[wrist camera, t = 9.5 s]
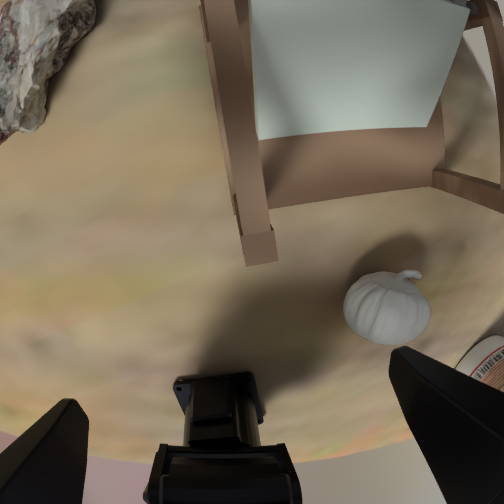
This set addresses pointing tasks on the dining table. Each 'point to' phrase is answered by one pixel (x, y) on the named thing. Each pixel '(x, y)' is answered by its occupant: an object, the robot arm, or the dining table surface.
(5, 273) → the dining table surface
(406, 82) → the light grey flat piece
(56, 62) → the mineral rock
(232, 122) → the stand
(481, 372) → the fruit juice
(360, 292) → the garlic
